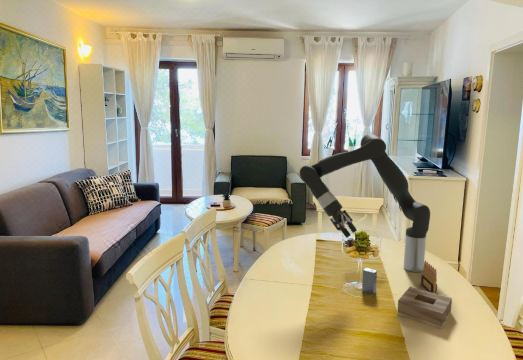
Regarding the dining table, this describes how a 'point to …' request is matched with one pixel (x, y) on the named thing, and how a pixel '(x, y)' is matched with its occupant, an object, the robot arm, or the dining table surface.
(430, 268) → the ammunition clip
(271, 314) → the dining table surface
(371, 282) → the gray rectangular block
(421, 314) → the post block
